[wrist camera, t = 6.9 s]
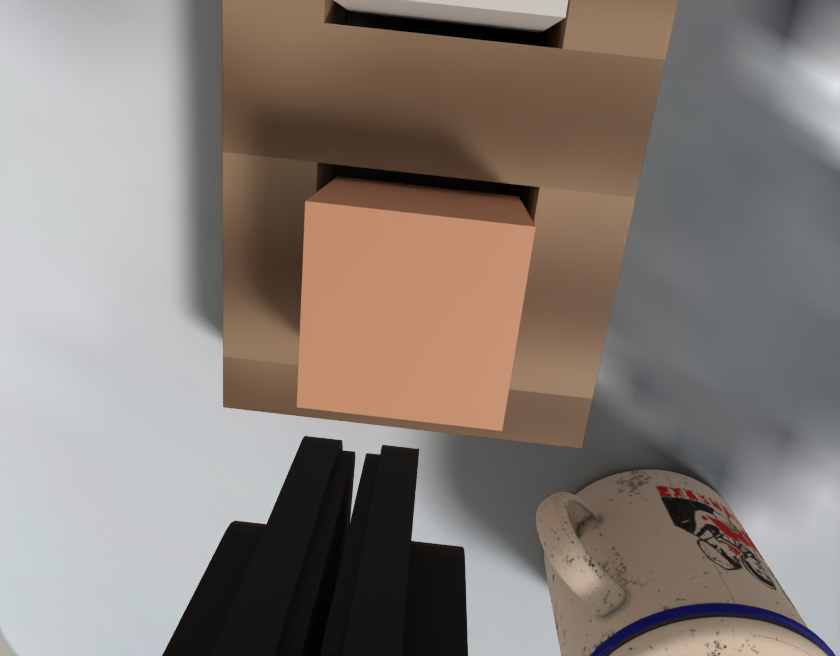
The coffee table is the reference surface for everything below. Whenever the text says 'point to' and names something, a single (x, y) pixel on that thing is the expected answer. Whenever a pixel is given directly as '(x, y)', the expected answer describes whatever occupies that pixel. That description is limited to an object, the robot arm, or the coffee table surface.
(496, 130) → the brown slotted base
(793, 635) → the teacup with lid
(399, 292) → the salmon orange block
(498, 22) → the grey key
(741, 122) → the coffee table surface
